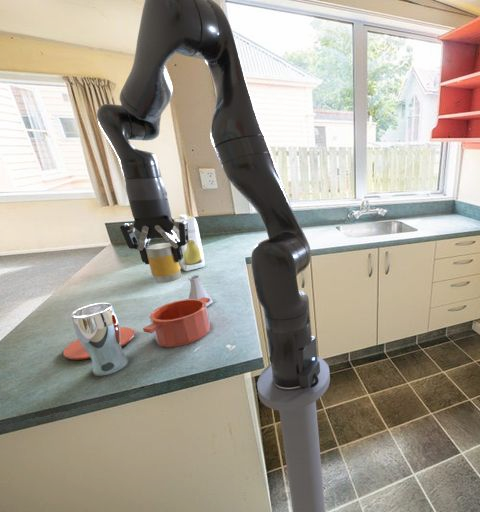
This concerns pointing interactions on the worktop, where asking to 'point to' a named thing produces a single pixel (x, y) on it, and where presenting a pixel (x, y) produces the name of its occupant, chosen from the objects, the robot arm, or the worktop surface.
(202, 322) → the pot
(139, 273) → the worktop surface
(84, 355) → the lid
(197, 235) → the juice carton
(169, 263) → the can
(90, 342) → the silver metal cup
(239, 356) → the worktop surface
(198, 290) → the flask
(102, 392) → the worktop surface
